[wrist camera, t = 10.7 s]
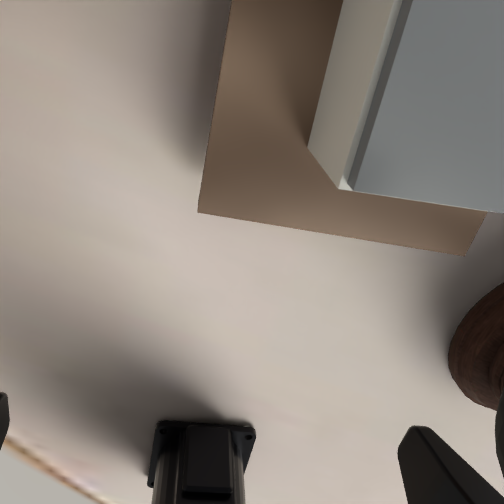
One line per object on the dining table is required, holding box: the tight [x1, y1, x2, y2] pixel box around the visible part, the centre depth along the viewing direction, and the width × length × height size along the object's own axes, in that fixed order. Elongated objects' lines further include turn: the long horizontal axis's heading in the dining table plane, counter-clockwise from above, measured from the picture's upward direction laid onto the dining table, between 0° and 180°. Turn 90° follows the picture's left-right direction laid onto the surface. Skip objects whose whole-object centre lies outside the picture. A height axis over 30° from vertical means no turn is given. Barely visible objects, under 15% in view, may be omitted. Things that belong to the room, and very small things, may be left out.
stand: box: [198, 0, 488, 256], centre depth 15 cm, size 16×12×3 cm
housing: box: [307, 0, 504, 213], centre depth 12 cm, size 9×5×5 cm, turn 170°
